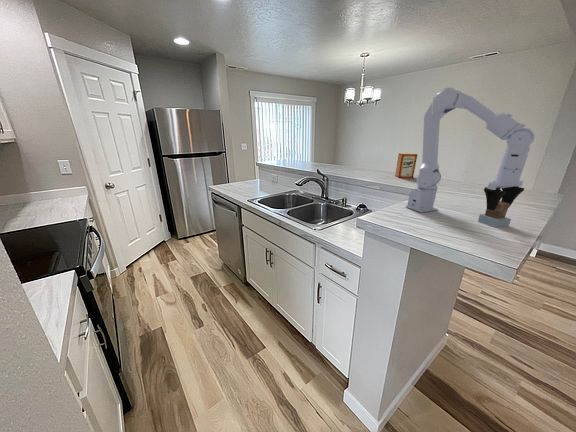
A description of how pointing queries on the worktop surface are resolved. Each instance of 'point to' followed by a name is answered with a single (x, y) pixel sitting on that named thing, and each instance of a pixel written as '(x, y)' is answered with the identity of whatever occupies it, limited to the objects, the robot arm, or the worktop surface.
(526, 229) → the worktop surface
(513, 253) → the worktop surface
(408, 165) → the baking soda box
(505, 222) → the slate slab
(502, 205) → the walnut block
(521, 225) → the worktop surface
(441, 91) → the robot arm
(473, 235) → the worktop surface
